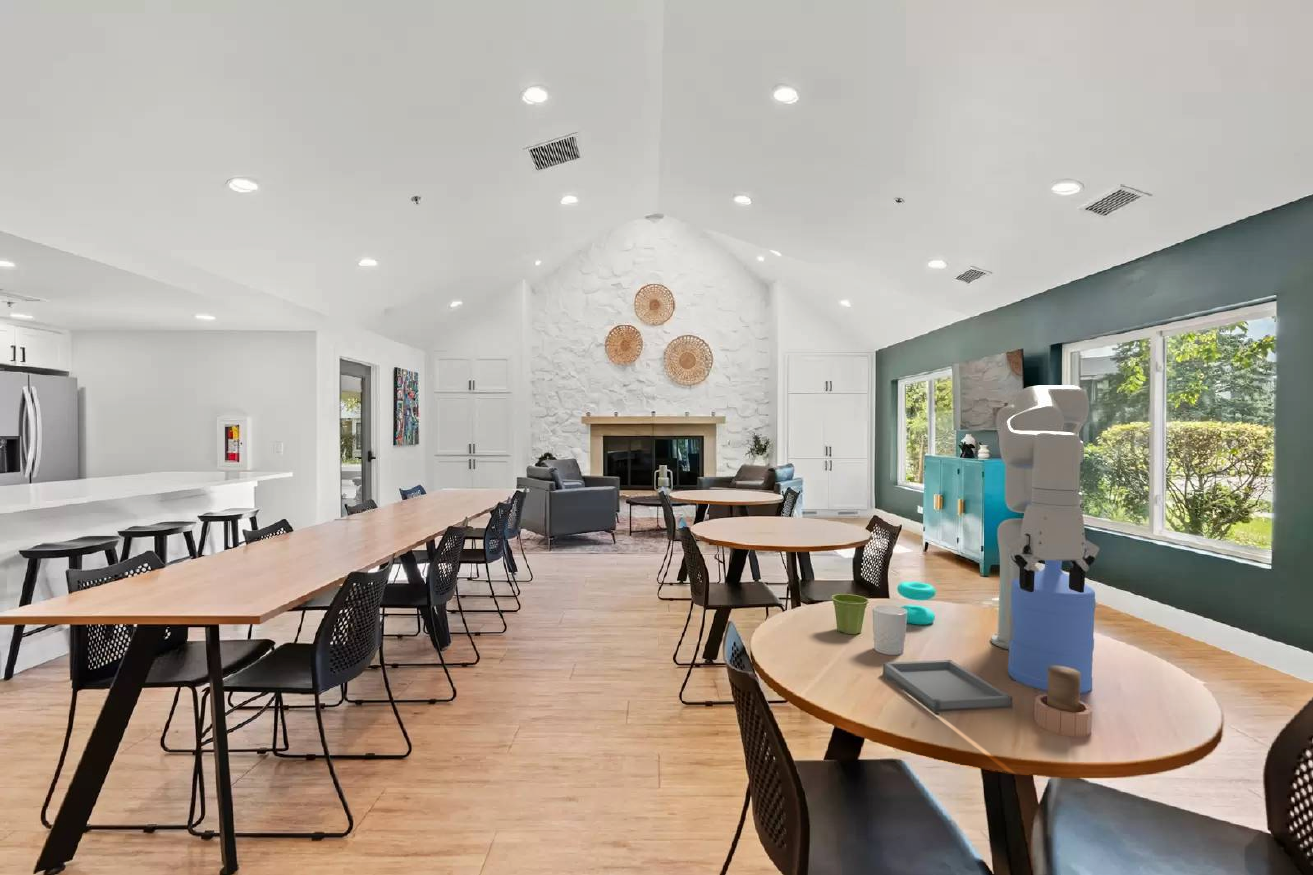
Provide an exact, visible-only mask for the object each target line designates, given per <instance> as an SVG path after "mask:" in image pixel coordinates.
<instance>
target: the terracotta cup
mask: <svg viewBox="0 0 1313 875" xmlns="http://www.w3.org/2000/svg"><path fill="white" fill-rule="evenodd" d="M1033 716H1034V717H1033V720H1034V722H1035V724H1036V725H1038V726H1039V727H1041V728H1043V729H1045V731H1048V732H1051V733H1055V734H1057V735H1060V736H1061V735H1062V736H1067V737H1072V738H1073V737H1074V738H1077V737H1078V738H1079V737H1088V736H1089V735H1090V734H1092V725H1093V724H1092V721H1093V710H1092V708H1091V706H1090V705H1089V704H1087V703H1085V702H1083V701H1081V700H1080V701H1079V712H1075V713H1073V712H1066V711H1060V710H1057V709H1054V708H1051V707H1049V706H1047V693H1044V694H1043V693H1042V694H1041V693H1040V694H1038V695H1037V696H1035V697H1034V713H1033Z"/></svg>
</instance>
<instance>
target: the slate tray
mask: <svg viewBox="0 0 1313 875" xmlns="http://www.w3.org/2000/svg"><path fill="white" fill-rule="evenodd" d="M882 675H883V676H885V677H886V678H887V679H889V680H890V681H891V682H892V683H893V684H895V685H896V686H898V687H899V688H900V689H902V690H903V691H904V692H906V693H907V694H908V695H910V697H912V698H913V699H915V701H917V702H918V703H920V704H921V705H922V706H924V707H925V708H926V709H928V710H929V711H930V712H932V714H934V715H939V713H938V712H952V711H953V712H954V711H955V712H957V711H975V710H990V709H991V710H992V709H1007V708H1008V709H1011V708H1013V697H1012V696H1010V695H1009V694H1008V693H1006V692H1004V691H1002V690H1001V689H999V688H998V687H995V686H994V685H992V684H991V683H989V682H988V681H985V679H983V678H982V677H979V676H977V675H976V674H974V673H972V672H971V671H969V670H967V669H966V668H965V667H962V666H961V665H959V664H958V663H956V662H954V661H953V660H951V659H944V660H943V659H941V660H917V661H916V660H915V661H899V662H898V661H896V662H893V661H892V662H883V663H882Z"/></svg>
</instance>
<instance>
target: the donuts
mask: <svg viewBox="0 0 1313 875" xmlns="http://www.w3.org/2000/svg"><path fill="white" fill-rule="evenodd" d="M896 590H897V592H898V594H899V596H902V597H903V598H905V599H909V600H914V601H929V600H931V599H933V598H934V597H935V595H936V594H937V593H936V592H937V591H936V589H935V587H934V586H932V585H931V584H928V583H925V582H920V581H903V582H901V583H899V584H898V585H897V587H896ZM900 607H901V608H904V609H906V610H907V623H906V624H910V625H918V626H925V625H931V624H933V623H934V621H935V619H936V615H935V613H934V611H932V610H931V609H929V608H927V607H925V606H921V605H914V604H907V605H906V604H905V605H902V606H900Z"/></svg>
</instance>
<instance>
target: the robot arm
mask: <svg viewBox="0 0 1313 875" xmlns="http://www.w3.org/2000/svg"><path fill="white" fill-rule="evenodd" d="M1089 400H1090V399H1089V397H1088V395H1087V393H1086V390H1084V389H1083V388H1081V387H1079V386H1077V385H1033V386H1026V387H1025V388H1023V389H1021V390H1020V391H1018V393H1017V394H1016V395H1015V397H1014V402H1013V404H1011V405H1006V406H1003V407H1002V408H1000V409H999V410H998V411H997V413H996V419H995V420H996V422H995V423H996V424H995V425H996V430H997V435H998V443H999V453H1000V457H1001V461H1002V462H1003V463H1004V464H1005V477H1004V478H1005V479H1004V482H1005V485H1004V495H1005V496H1004V499H1005V504H1006V507H1007V508H1008V509H1009V510H1010V511H1011V512H1015V513H1019V514H1024V515H1023V517H1022V518H1008V519H1005V520H1003V521H1002V522H1001V523H1000V524H999V525H998V527H997V536H996V537H997V544H998V551H999V552H998V553H999V589H998V590H999V591H998V592H999V593H998V594H999V595H998V619H997V620H998V621H997V623H998V624H997V632H995V633H992V635H991V636H990V642H991V643H992V644H993V645H995V646H997V647H999V648H1001V649H1004V650H1008V651H1009V646H1010V642H1011V641H1012V639H1013V614H1012V612H1011V588H1012V581H1013V580H1014V579H1016V578H1019V584H1020V588H1021V589H1023V590H1025V591H1028V592H1033V591H1034V578H1035V573H1036V572H1039V571H1040V569H1039V568H1038V567H1037V566H1036V564H1038V562H1039V561H1045V560H1046V561H1062V562H1069V564H1070V565H1071V566H1072V567H1069V569H1068V570H1069V571H1068V572H1069V574H1068V576H1069V589H1071V590H1074V591H1077V592H1080V593H1083V592H1084V586H1085V585H1086V583H1085V582H1086V572H1088V571H1089V569H1090V566H1091V565H1092V564H1093V563H1095V560H1096V559H1095V558H1096V557H1097V555H1098V553H1099V551H1100V546H1098V545H1096V544H1094V543H1092V542H1091V541H1089V540H1087V539H1086V533H1085V532H1086V530H1085V522H1084V515H1083V514H1084V513H1083V510H1082V507H1081V506H1080V504H1081V502H1080V501H1083V500H1084V498H1085V497H1084V494H1083V492H1082V493H1081V492H1080V478H1081V477H1080V473H1081V472H1080V469H1081V468H1080V467H1081V463H1083V461H1084V457H1085V444H1084V442H1083V441H1082V440H1081V438H1080V436H1079V432H1080V431H1081V429H1082V427H1083V426H1084V424H1085V423H1086V421H1087V418H1088V416H1089V412H1090V401H1089ZM1085 550H1086V551H1085Z"/></svg>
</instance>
